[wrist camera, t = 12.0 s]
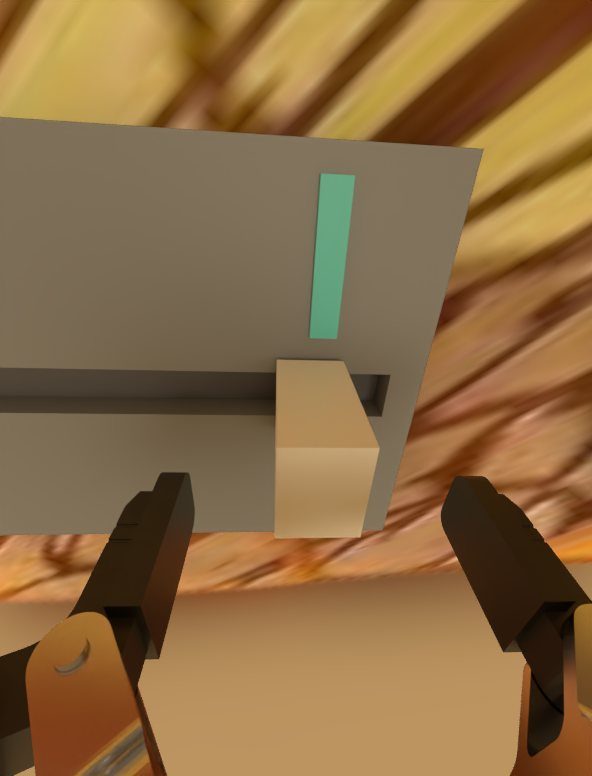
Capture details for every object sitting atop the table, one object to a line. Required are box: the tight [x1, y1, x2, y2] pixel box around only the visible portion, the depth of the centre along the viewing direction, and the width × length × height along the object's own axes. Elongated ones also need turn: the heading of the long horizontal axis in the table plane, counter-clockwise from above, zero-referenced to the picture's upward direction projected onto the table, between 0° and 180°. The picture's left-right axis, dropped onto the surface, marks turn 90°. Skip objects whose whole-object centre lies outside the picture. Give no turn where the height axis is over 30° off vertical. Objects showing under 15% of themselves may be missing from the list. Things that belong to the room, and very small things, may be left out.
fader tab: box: [274, 360, 380, 538], centre depth 14 cm, size 4×3×7 cm
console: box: [0, 117, 483, 535], centre depth 16 cm, size 20×30×3 cm, turn 87°
